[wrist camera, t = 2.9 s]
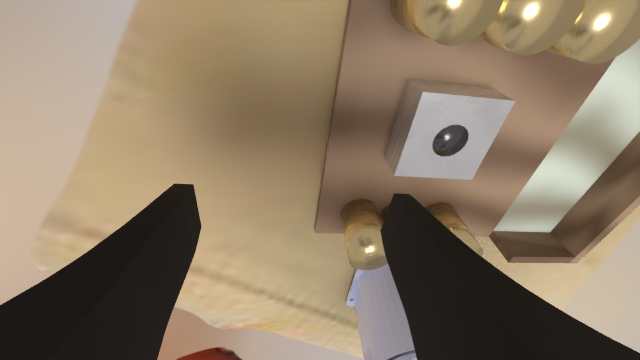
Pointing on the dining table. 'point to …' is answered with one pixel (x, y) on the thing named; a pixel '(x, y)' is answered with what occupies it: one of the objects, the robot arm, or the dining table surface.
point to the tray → (508, 146)
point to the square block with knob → (444, 129)
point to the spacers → (509, 34)
